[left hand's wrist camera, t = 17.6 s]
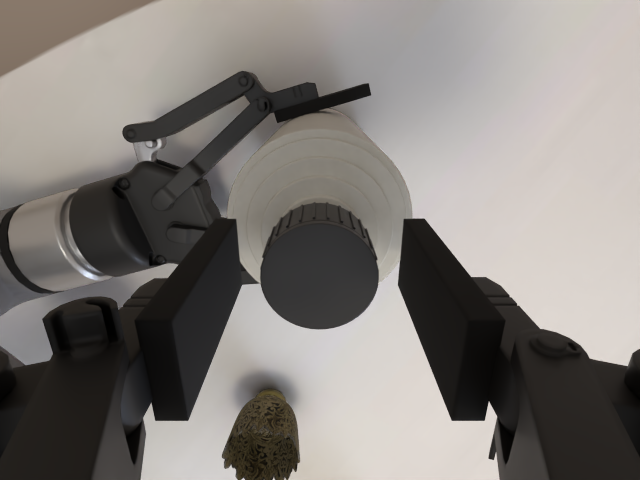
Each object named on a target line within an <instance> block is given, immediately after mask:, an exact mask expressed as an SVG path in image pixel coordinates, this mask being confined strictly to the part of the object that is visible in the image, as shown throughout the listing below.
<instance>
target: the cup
mask: <svg viewBox="0 0 640 480" xmlns="http://www.w3.org/2000/svg"><path fill="white" fill-rule="evenodd" d="M222 458H223V459H225V461H224V468H225V469H226V468H228V467H230V465H232V468H235V469H236V478H237V479H238V480H241V479H242V478H244V479H245V480H272V479H273V476H274V478H275V480H284V478H286V480H288V479H289V476H290V474H291V472H292V468H293V469H294V470H295V472H296V471H297V463H299V462H300V454H299V439H298V428H297V421H296V417H295V414H294V412H293V410H292V408H291V407H290V405H289V404H288V403H287V402H286V400H285V397H284V395H283V394H282V393H281V392H280V391H278V390H275V389H265V390H263V391H261V392H260V393H259V394H258V395H257V396H256V397H255V398H254V399H252V400H251V401H249V402H248V403H247V404H246V405H245V406H244V407H243V408H242V410H241V411H240V413H239V415H238V417H237V419H236V421H235V423H234V426H233V428H232V431H231V433H230V436H229V438H228V441H227V443H226V446H225V448H224V451H223V454H222Z"/></svg>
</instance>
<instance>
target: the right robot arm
mask: <svg viewBox="0 0 640 480" xmlns="http://www.w3.org/2000/svg"><path fill="white" fill-rule="evenodd" d="M244 95H245V97H246V98H247V99H248V101H249V102H250V103H251V104H250V105H249V106H248V107H247V108H246V109H245V110H244V111H243V112H242V113H240V114H239V115H238V116H237V117H236V118H235V119H234V120H233V121H232V122H231V123H230V124H229V125H228V126H227V127H226V128H225V129H224V130H223V131H222V132H221V133H220V134H219V135H218V136H217V137H216V138H215V139H214V140H213V141H211V142H210V143H209V144H208V145H207V146H206V147H205V148H204V149H203V150H202V151H201V152H200V153H199V154H198V155H197V156H196V157H195V158H194V159H193V160H192V161H190V162H189V163H188V164H187V165H186V166H185V167H184V168H181V167H178V166H175V165H172V164H170V163H167V162H164V161H161V160H158V159H156V154H157V152H158V151H159V150H160V149H162V148H164V147H165V146H166V138H165V137H167V136H170V135H173V134H176V133H178V132H180V131H182V130H183V129H185V128H187V127H189V126H191V125H192V124H194V123H196V122H198V121H199V120H201V119H203V118H205V117H207V116H208V115H210V114H212V113H214V112H215V111H217V110H219V109H221V108H223V107H224V106H226V105H228V104H230V103H231V102H233V101H235V100H237V99H239V98H240V97H242V96H244ZM370 95H371V92H370V87H369V83H367V84H362V85H359V86H355V87H352V88H349V89H345V90H342V91H339V92H335V93H332V94H329V95H325V96H322V97H319V96H318V92H317V88H316V85H315V83H308V82H307V83H303V84H300V85H297V86H294V87H290V88H287V89H284V90H280V91H277V92H274V93H271V92H268V91H267V90H265V89H264V87H263V86H262V85H261V83H260V82H259V80H258V78H257V77H256V75H255V74H253V73H250V72H246V71H241V72H238V73H236V74H235V75H233V76H231V77H230V78H228V79H226V80H224V81H223V82H221V83H219V84H217V85H216V86H214V87H212V88H210V89H209V90H207V91H205V92H203V93H202V94H200V95H198V96H197V97H195V98H193V99H191V100H190V101H188V102H186V103H184V104H183V105H181V106H179V107H177V108H176V109H174V110H172V111H170V112H169V113H167V114H165V115H164V116H162V117H160V118H158V119H157V120H155V121H148V122H141V123H136V124H131V125H127V126H125V127H124V128H123V131H122V132H123V136H124V138H125V139H126V140H127V141H128V142H130V143H133V145H134V149H135V152H136V156H137V159H138V162H139V163H138V164H136V165H135V167H134V168H133V169H132V170H131V171H130V172H128V173H124V174H121V175H118V176H114V177H111V178H108V179H104V180H101V181H97V182H94V183H91V184H87V185H84V186H82V187H81V188H79V189H77V188H74V189H70V190H67V191H63V192H60V193H57V194H53V195H50V196H46V197H43V198H40V199H36V200H33V201H29V202H26V203H25V204H21V205H18V206H16V207H13V208H9V209H6V210H2V211H0V316H1V315H3V314H4V313H6V312H7V311H8V310H10V309H11V308H13V307H15V306H16V305H18V304H21V303H23V302H26V301H29V300H32V299H36V298H40V297H43V296H47V295H50V294H54V293H58V292H62V291H65V290H69V289H73V288H77V287H81V286H85V285H89V284H93V283H97V282H100V281H104V280H108V279H111V278H112V277H118V276H123V275H127V274H131V273H134V272H138V271H142V270H146V269H149V268H153V267H157V266H160V265H163V264H167V263H174V264H180V263H181V261H182V260H183V259H184V258H185V256H186V255H187V254H188V253H189V251H190V250H191V249H192V248H193V246H194V245H195V244H196V243H197V241H198V240H199V239H200V238H201V236H202V235H203V234H204V233H205V231H206V230H207V229H208V228H209V226H210V225H211V224H212V223H213V221H214V220H215V219H227V218H223V217H221V215H220V212H219V210H218V207H217V206H216V205H215V203H214V202H213V200H212V199H211V191H210V187H209V184H208V182H207V180H204V179H203V178H202V177H203V176H204V175H205V174H206V173H207V172H209V171H210V170H211V169H212V168H213V167H214V166H215V165H216V164H217V163H218V162H219V161H220V160H221V159H222V158H223V157H224V156H225V155H226V154H227V153H228V152H229V151H231V150H232V149H233V148H234V147H235V146H236V145H237V144H238V143H239V142H240V141H241V140H242V139H243V138H244V137H245V136H246V135H248V134H249V133H250V132H251V131H252V130H253V129H254V128H255V127H256V126H257V125H258V124H259V123H260V122H261V121H262V120H263V119H265V118H266V117H267V116H268V115H269V114H270V113H273V112H274V114H275V117H276V120H277V123H279V122H282V121H286V120H289V119H293V118H296V117H299V116H303V115H306V114H309V113H313V112H316V111H320V110H323V109H326V108H330V107H333V106H337V105H340V104H343V103H347V102H350V101H353V100H357V99H360V98H364V97H367V96H370ZM240 267H241V279H242V285H244V284H258V283H259V282H257V281H256V280H255V279H254V278H253V277H252V276H251V275H250V274H249V273H248V272H247V270H246V269H245V268H244V266H243V265H242V264H241V262H240ZM0 351H2V352H4V353H6V354H7V355H8V357H9V359H10V362H11V365H12V367H13V368H16V367H21V366H26V365H24V364H23V363H22V362H21V361H19V360H18V359H17V358H15V357H14V356H13V355H11V354H10V353H9V352H8V351H6V350H5V349H4V348H2V347H1V346H0Z"/></svg>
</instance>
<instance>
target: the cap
mask: <svg viewBox="0 0 640 480" xmlns="http://www.w3.org/2000/svg"><path fill="white" fill-rule="evenodd" d="M262 258H263V261H262V264H261V267H260V281H261V287H262V291H263V294H264V296H265V298H266V300H267V302H268V303H269V305H270V306H271V307H272V308H273V310H274V311H275V312H276V313H277V314H278V315H280V316H281V317H282V318H284V319H285V320H287V321H289V322H290V323H293V324H295V325H298V326H301V327H304V328H309V329H329V328H335V327H338V326H341V325H344V324H347V323H348V322H350V321H352V320H354V319H355V318H357V317H358V316H359V315H360V314H362V313H363V312H364V311H365V310H366V308H367V307H368V306H369V305H370V303H371V302H372V300H373V298H374V296H375V294H376V291H377V288H378V282H379V269H378V265H377V260H378V259H377V256H376V253H375V250H374V247H373V244H372V241H371V239H370V236H369V233H368V230H367V228H366V229H365V228H364V226H363V225H362V222H361V220H360V219H358V218H357V217H355V216H354V215H353V214H352V212H351V211H348V210H346V209H344V208H342V207H341V206H340V205H339V206H336V205H333V204H329V203H328V202H326V203H316V202H313V203H311V204H306V205H303V204H302V205H301V206H300V207H298V208H295V209H293V210H292V209H291V210H290V211H289V212H288V213H287V214H286V215H285V216H284V217H283V218H282V217H281V218H280V220H279V222H278V223H277V225H276V226H274V227H273V229H272V232H271V235H270V237H269V238H268V241H267V244H266V246H265V249H264V252H263V255H262Z"/></svg>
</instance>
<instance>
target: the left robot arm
mask: <svg viewBox="0 0 640 480" xmlns="http://www.w3.org/2000/svg"><path fill="white" fill-rule="evenodd" d="M241 286H242V279H241V267H240V256H239V244H238V232H237V220H236V219H215V220H214V221H213V223H212V224H211V225H210V226H209V228H208V229H207V230H206V231H205V233H204V234H203V235H202V236H201V238H200V239H199V240H198V241H197V243H196V244H195V245H194V246H193V248H192V249H191V250H190V251H189V253H188V254H187V255H186V256H185V258H184V259H183V260H182V261H181V263H180V264H179V265H178V266H177V268H176V269H175V270H174V271H173V273H172V274H171V275H170V276H169V278H154V279H153V280H151V281H149V282H147V283H146V284H144V285H142V286H141V287H139V288H138V289H137V291H136V292H135V293H134V294H133V295H132V296H131V299H128V300H127V302H126V303H125V304H124V305H123V307H121V308H120V309H119V310H118V306H117V302H116V301H114V300H113V299H111V298H106V297H87V298H83V299H78V300H74V301H71V302H68V303H66V304H63V305H61V306H59V307H57V308H55V309H54V310H52V311H50V312H49V313H48V314H47V315H46V316H45V317H44V318H43V319H42V320H43V323H44V326H45V329H46V332H47V336H48V339H49V342H50V345H51V348H52V351H53V355H52V357H51V359H50V361H46V362H41V363H36V364H31V365H26V366H21V367H16V368H13V367H12V365H11V362H10V359H9V357H8V355H7V354H6V353H4V352H2V351H0V480H140V479H141V470H142V462H143V454H144V446H145V437H146V431H145V425H144V421H143V417H144V415H145V413H146V411H147V409H148V407H149V406H150V404H151V402H152V407H153V412H154V416H155V421H188V420H189V417H190V415H191V412H192V410H193V407H194V405H195V402H196V400H197V397H198V395H199V392H200V390H201V387H202V385H203V382H204V379H205V377H206V374H207V372H208V369H209V367H210V364H211V362H212V359H213V357H214V354H215V352H216V349H217V347H218V344H219V342H220V339H221V337H222V334H223V332H224V329H225V327H226V324H227V321H228V319H229V316H230V314H231V311H232V309H233V306H234V304H235V301H236V299H237V296H238V294H239V291H240V289H241ZM398 286H399V289H400V291H401V294H402V296H403V299H404V301H405V304H406V306H407V309H408V311H409V314H410V316H411V319H412V321H413V324H414V327H415V329H416V332H417V334H418V337H419V339H420V342H421V344H422V347H423V349H424V352H425V354H426V357H427V359H428V362H429V364H430V367H431V369H432V372H433V374H434V377H435V379H436V382H437V385H438V387H439V390H440V392H441V395H442V397H443V400H444V402H445V405H446V407H447V410H448V412H449V415H450V417H451V420H452V421H485V416H486V412H487V407H488V402H490V404H491V406H492V407H493V409H494V411H495V413H496V415H497V421H496V425H495V430H494V434H493V439H492V443H491V447H490V452H489V459H492V460H494V457H495V453H497V461H498V469H499V477H500V480H640V349H639V350H637V351H635V352H634V353H633V354H632V357H631V359H630V362H629V365H628V366H623V365H618V364H613V363H608V362H603V361H597V360H593V359H589V357H588V355H587V353H586V352H585V351H584V349H583V348H582V347H581V346H580V345H579V344H577V343H576V342H574V341H573V340H572V339H570V338H568V337H566V336H563V335H561V334H559V333H556V332H552V331H548V330H544V329H540V328H539V327H538V326H537V325H536V324H535V323H534V322H533V321H532V320H531V318H530V317H529V316H528V315H527V314H526V313H525V312H524V311H523V310H522V309H521V308H520V306H517V303H516V302H515V301H514V300H513V299H512V298H511V297H509V294H508V293H507V292H506V291H505V290H504V289H503V288H502V287H501V286H500V285H498V284H497V283H495V282H493V281H492V280H490V279H488V278H486V277H471V276H470V275H469V274H468V273H467V271H466V270H465V269H464V268H463V266H462V265H461V264H460V263H459V261H458V260H457V259H456V258H455V256H454V255H453V254H452V253H451V251H450V250H449V249H448V248H447V246H446V245H445V244H444V243H443V241H442V240H441V239H440V238H439V236H438V235H437V234H436V233H435V231H434V230H433V229H432V228H431V226H430V225H429V224H428V223H427V221H426V220H425V219H404V220H403V232H402V244H401V256H400V267H399V279H398Z"/></svg>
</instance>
